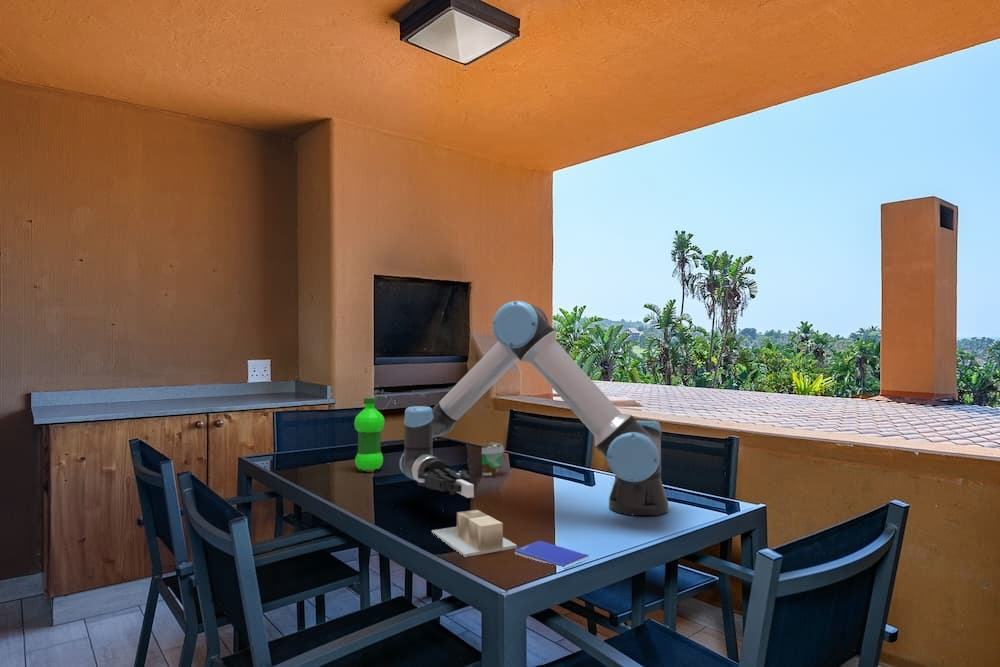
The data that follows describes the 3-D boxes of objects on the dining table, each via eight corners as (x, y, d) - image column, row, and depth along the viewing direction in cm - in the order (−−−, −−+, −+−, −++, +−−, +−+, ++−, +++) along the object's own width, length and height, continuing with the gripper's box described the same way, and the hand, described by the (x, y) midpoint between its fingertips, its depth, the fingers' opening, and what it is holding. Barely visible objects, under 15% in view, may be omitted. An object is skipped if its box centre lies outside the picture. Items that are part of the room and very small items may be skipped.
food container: (500, 479, 191) (500, 448, 192) (481, 478, 193) (481, 447, 193) (507, 472, 203) (507, 442, 204) (489, 471, 205) (489, 442, 205)
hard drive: (514, 549, 120) (563, 564, 112) (540, 539, 126) (588, 553, 118) (514, 557, 120) (563, 573, 112) (540, 547, 126) (588, 561, 118)
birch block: (456, 512, 131) (481, 526, 120) (477, 509, 133) (502, 523, 123) (456, 535, 131) (481, 551, 120) (477, 532, 133) (502, 547, 123)
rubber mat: (431, 533, 134) (431, 530, 134) (479, 525, 140) (479, 523, 140) (464, 557, 118) (464, 554, 118) (516, 548, 124) (516, 545, 124)
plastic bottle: (347, 472, 202) (348, 398, 203) (367, 467, 212) (367, 396, 212) (371, 475, 198) (372, 399, 199) (390, 469, 207) (390, 397, 208)
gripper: (455, 484, 153) (497, 505, 133) (406, 489, 147) (442, 512, 127) (455, 455, 154) (497, 471, 133) (406, 459, 148) (443, 476, 127)
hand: (470, 491), depth 130 cm, fingers closed
